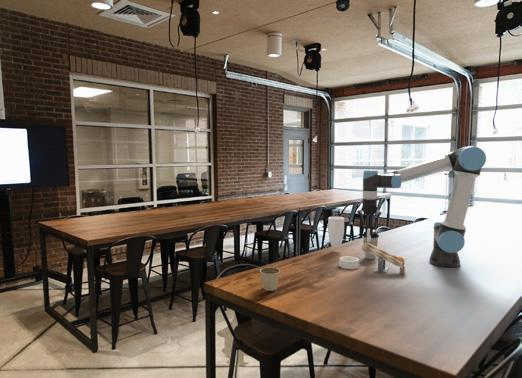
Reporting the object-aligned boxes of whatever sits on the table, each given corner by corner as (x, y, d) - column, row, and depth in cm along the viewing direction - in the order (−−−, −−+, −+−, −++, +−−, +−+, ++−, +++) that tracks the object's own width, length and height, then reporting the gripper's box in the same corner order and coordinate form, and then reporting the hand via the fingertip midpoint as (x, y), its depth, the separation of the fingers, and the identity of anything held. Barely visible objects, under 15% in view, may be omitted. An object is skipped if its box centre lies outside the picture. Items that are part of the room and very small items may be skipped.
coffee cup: (379, 260, 208) (379, 234, 207) (362, 259, 210) (362, 234, 209) (377, 255, 217) (378, 231, 216) (361, 255, 219) (361, 230, 218)
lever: (405, 261, 194) (407, 256, 193) (402, 268, 183) (405, 262, 182) (366, 243, 203) (368, 238, 202) (361, 249, 192) (363, 243, 191)
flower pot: (274, 294, 160) (273, 275, 159) (256, 290, 165) (255, 271, 164) (284, 287, 168) (284, 269, 167) (266, 283, 173) (266, 266, 172)
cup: (326, 253, 225) (326, 218, 224) (329, 248, 235) (329, 216, 233) (342, 254, 222) (343, 219, 220) (345, 250, 231) (345, 216, 229)
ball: (403, 263, 187) (404, 256, 186) (402, 265, 184) (403, 258, 183) (396, 261, 188) (397, 255, 188) (395, 263, 185) (396, 256, 185)
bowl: (360, 264, 201) (360, 257, 200) (356, 269, 192) (356, 262, 191) (342, 262, 205) (342, 255, 205) (337, 267, 196) (337, 260, 196)
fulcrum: (405, 270, 190) (406, 256, 189) (403, 276, 180) (403, 261, 180) (377, 266, 197) (377, 253, 196) (373, 272, 187) (373, 258, 186)
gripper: (383, 198, 198) (382, 240, 200) (359, 197, 204) (358, 238, 206) (381, 199, 191) (379, 243, 193) (356, 198, 197) (355, 241, 199)
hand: (368, 240), depth 200 cm, fingers closed
